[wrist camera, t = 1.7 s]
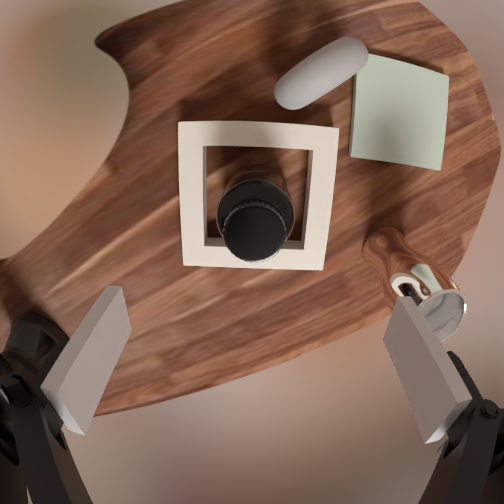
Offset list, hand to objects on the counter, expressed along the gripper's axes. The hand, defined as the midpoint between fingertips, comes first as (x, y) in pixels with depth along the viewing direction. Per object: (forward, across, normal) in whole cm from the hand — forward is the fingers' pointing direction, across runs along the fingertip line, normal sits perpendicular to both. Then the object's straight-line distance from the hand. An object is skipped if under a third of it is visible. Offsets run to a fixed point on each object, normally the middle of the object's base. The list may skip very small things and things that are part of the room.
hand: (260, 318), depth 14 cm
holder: (+22, 0, 0) cm, 22 cm away
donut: (+22, -5, -13) cm, 26 cm away
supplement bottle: (+22, 0, 0) cm, 22 cm away
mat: (+22, -16, -11) cm, 29 cm away
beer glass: (+22, -16, +6) cm, 28 cm away
